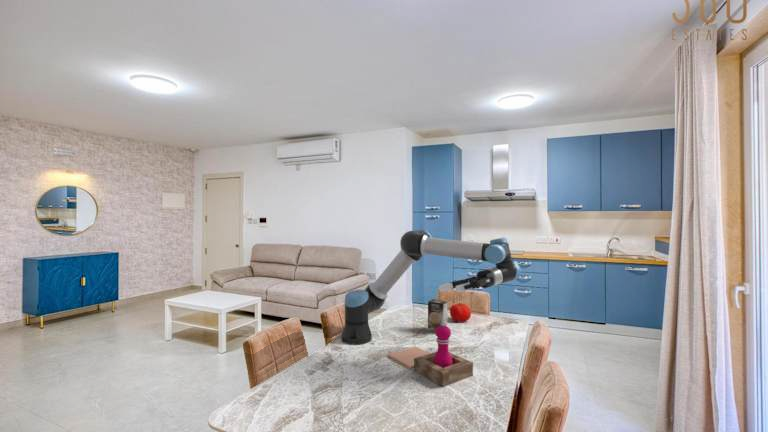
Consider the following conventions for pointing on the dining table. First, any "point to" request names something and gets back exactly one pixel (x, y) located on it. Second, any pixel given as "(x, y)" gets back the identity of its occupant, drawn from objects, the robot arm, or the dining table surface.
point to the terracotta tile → (407, 356)
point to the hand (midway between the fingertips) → (447, 289)
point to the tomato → (460, 312)
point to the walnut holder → (443, 369)
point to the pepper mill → (443, 346)
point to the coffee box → (436, 314)
